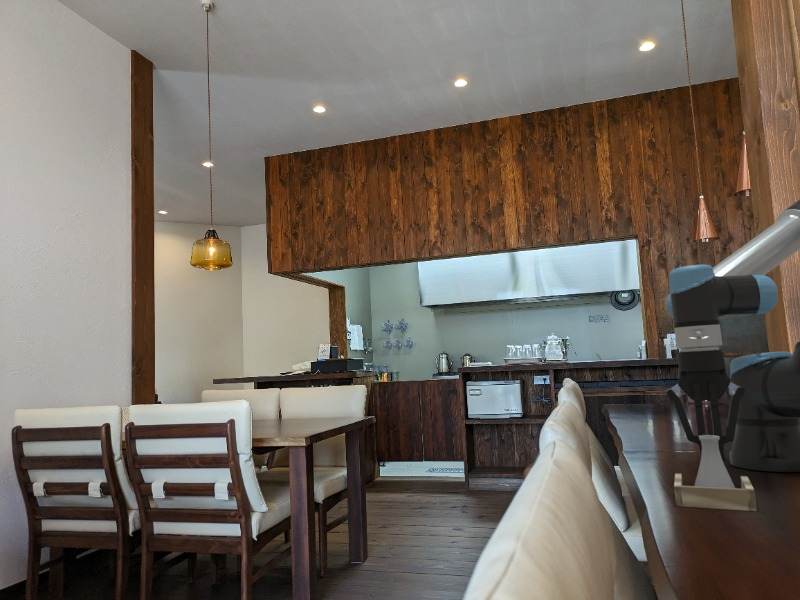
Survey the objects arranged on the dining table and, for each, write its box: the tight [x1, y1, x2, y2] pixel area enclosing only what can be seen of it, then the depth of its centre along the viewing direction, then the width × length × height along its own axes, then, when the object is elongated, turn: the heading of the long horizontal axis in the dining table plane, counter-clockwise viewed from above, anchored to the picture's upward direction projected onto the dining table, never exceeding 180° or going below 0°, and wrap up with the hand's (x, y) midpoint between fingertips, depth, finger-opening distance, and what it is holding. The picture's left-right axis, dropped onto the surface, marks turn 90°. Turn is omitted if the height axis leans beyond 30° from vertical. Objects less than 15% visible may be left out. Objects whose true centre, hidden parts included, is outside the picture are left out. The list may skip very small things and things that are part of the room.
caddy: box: [673, 473, 758, 512], centre depth 94 cm, size 12×11×3 cm
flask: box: [693, 434, 736, 488], centre depth 96 cm, size 7×7×10 cm
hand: (715, 481), depth 103 cm, fingers closed
